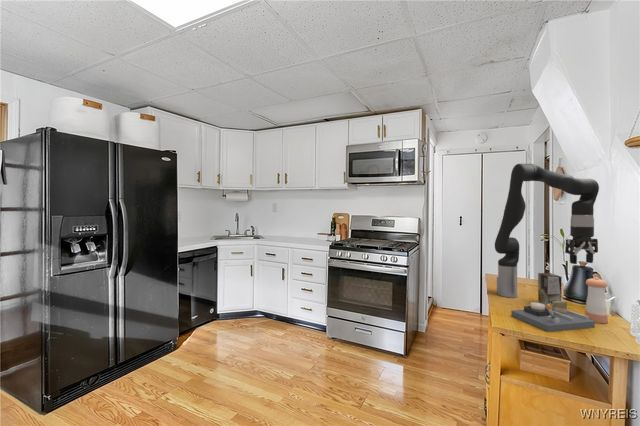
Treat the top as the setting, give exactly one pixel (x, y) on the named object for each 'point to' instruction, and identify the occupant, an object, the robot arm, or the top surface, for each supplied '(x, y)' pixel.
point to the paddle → (559, 306)
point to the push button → (537, 306)
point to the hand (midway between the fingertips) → (581, 263)
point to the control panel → (558, 323)
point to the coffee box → (549, 288)
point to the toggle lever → (550, 310)
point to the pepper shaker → (596, 300)
